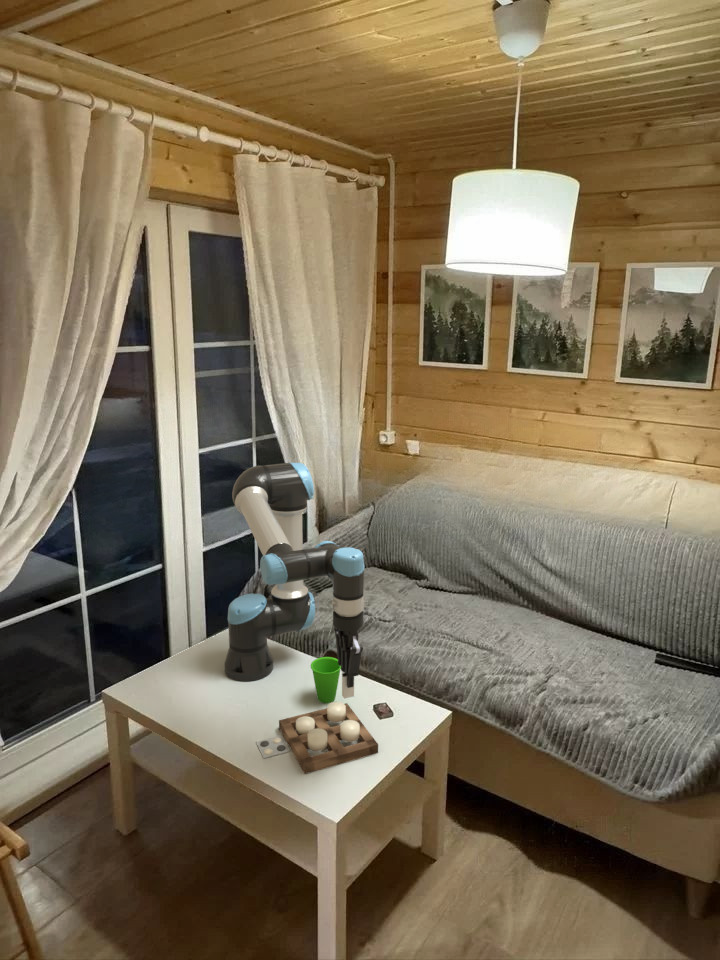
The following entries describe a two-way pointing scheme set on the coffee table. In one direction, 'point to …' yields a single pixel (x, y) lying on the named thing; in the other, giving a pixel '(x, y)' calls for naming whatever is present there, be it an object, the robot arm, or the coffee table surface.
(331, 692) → the cup
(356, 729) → the button front left
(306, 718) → the button back right
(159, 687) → the coffee table surface
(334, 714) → the button back left
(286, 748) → the card
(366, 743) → the board
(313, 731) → the button front right
